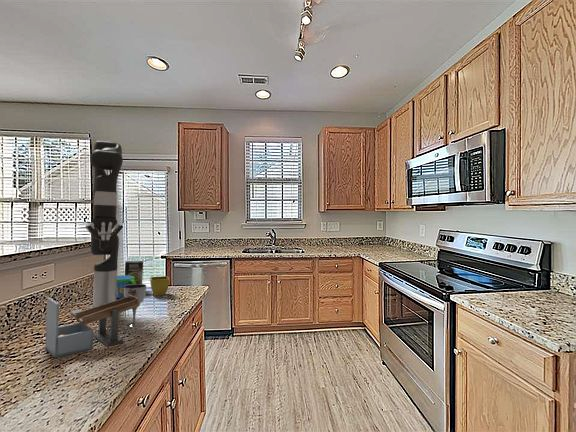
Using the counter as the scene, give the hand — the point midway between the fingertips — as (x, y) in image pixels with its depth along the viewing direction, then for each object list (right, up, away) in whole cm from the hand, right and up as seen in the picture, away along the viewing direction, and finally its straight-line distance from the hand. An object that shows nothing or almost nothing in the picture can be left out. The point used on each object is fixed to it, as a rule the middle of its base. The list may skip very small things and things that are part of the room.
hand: (103, 250), depth 126 cm
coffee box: (-16, -28, +58) cm, 66 cm away
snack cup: (-15, -29, +44) cm, 54 cm away
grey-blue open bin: (0, -29, -20) cm, 35 cm away
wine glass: (+9, -30, +4) cm, 31 cm away
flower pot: (+1, -29, +51) cm, 59 cm away
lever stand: (+8, -29, -11) cm, 32 cm away
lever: (+5, -20, -9) cm, 23 cm away
